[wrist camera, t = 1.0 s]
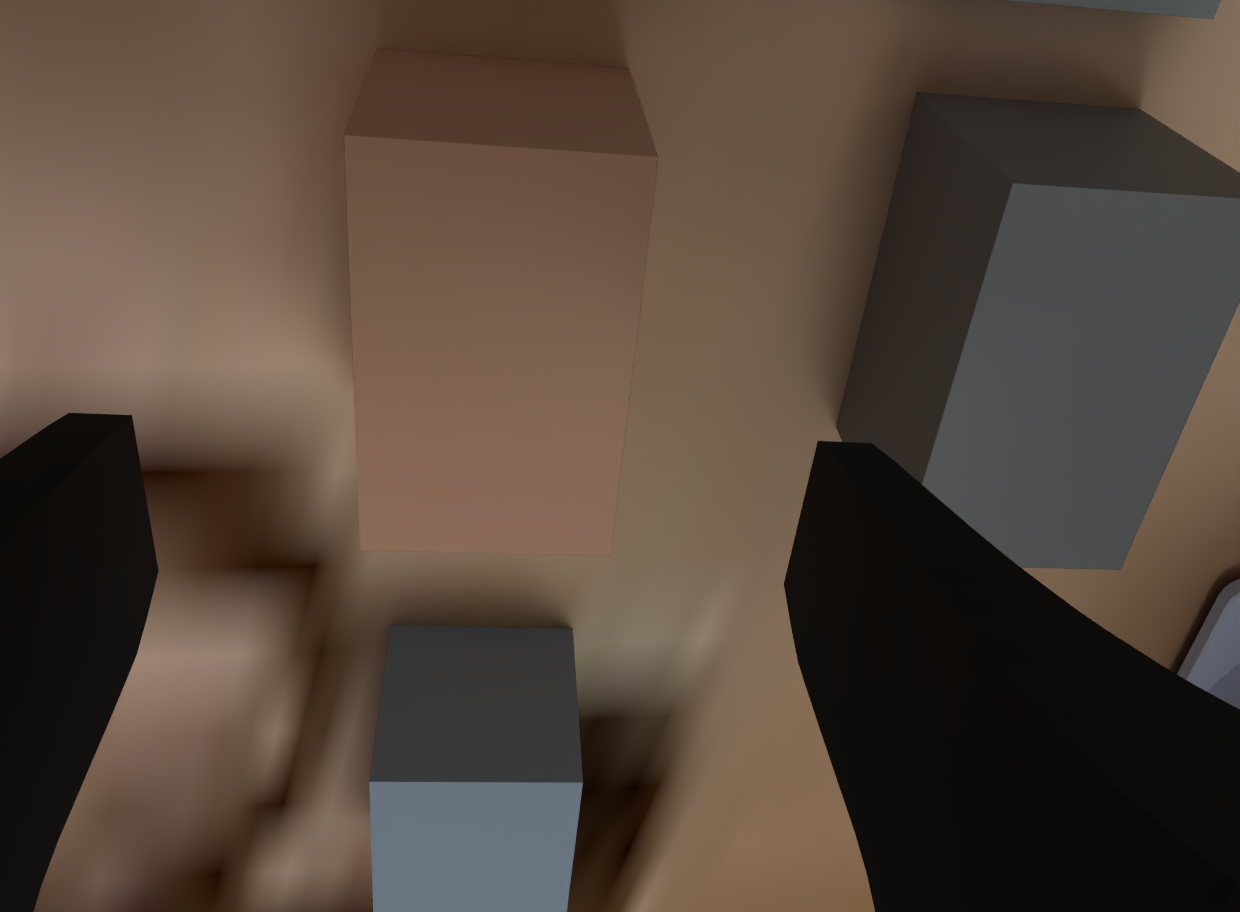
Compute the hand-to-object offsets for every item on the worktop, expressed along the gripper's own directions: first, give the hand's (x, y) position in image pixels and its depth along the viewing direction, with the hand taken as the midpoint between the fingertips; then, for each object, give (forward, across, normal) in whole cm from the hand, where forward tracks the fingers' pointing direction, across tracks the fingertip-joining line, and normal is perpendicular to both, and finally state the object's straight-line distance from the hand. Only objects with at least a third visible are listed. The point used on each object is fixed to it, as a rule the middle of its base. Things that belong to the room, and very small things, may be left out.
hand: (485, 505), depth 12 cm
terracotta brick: (+7, 0, 0) cm, 7 cm away
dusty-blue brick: (+7, 0, +11) cm, 13 cm away
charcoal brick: (+7, -8, 0) cm, 11 cm away
